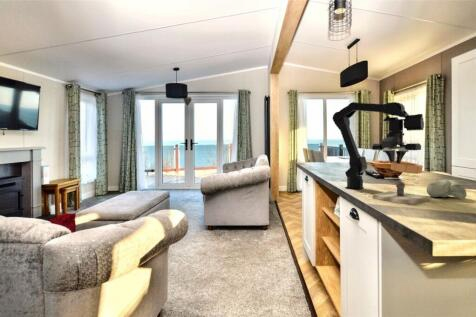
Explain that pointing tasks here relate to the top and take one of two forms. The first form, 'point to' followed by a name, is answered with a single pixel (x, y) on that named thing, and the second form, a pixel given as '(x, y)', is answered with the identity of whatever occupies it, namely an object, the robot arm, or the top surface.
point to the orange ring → (406, 167)
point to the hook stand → (401, 196)
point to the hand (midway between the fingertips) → (395, 166)
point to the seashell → (446, 189)
